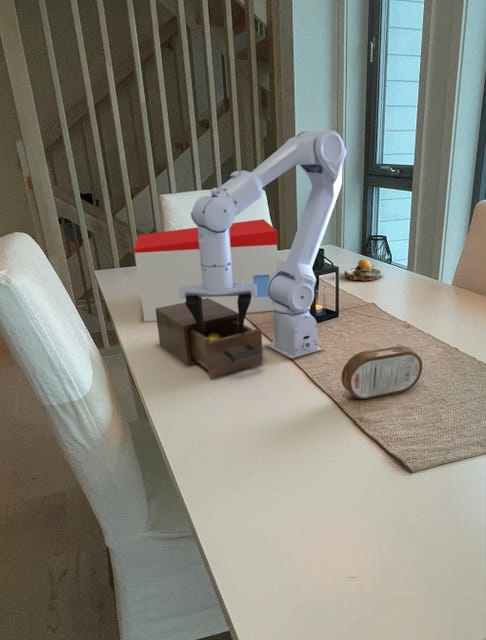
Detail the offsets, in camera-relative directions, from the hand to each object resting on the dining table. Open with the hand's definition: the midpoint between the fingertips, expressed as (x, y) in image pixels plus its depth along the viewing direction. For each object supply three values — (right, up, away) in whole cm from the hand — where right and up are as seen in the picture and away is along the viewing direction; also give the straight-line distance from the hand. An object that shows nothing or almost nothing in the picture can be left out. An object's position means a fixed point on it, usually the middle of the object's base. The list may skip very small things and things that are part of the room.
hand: (221, 331), depth 101 cm
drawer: (+1, -6, +2) cm, 6 cm away
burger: (+35, +21, +67) cm, 79 cm away
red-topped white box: (-10, +10, +41) cm, 43 cm away
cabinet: (-7, -3, +11) cm, 13 cm away
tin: (+30, -12, -10) cm, 34 cm away
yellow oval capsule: (-1, -3, +3) cm, 5 cm away
